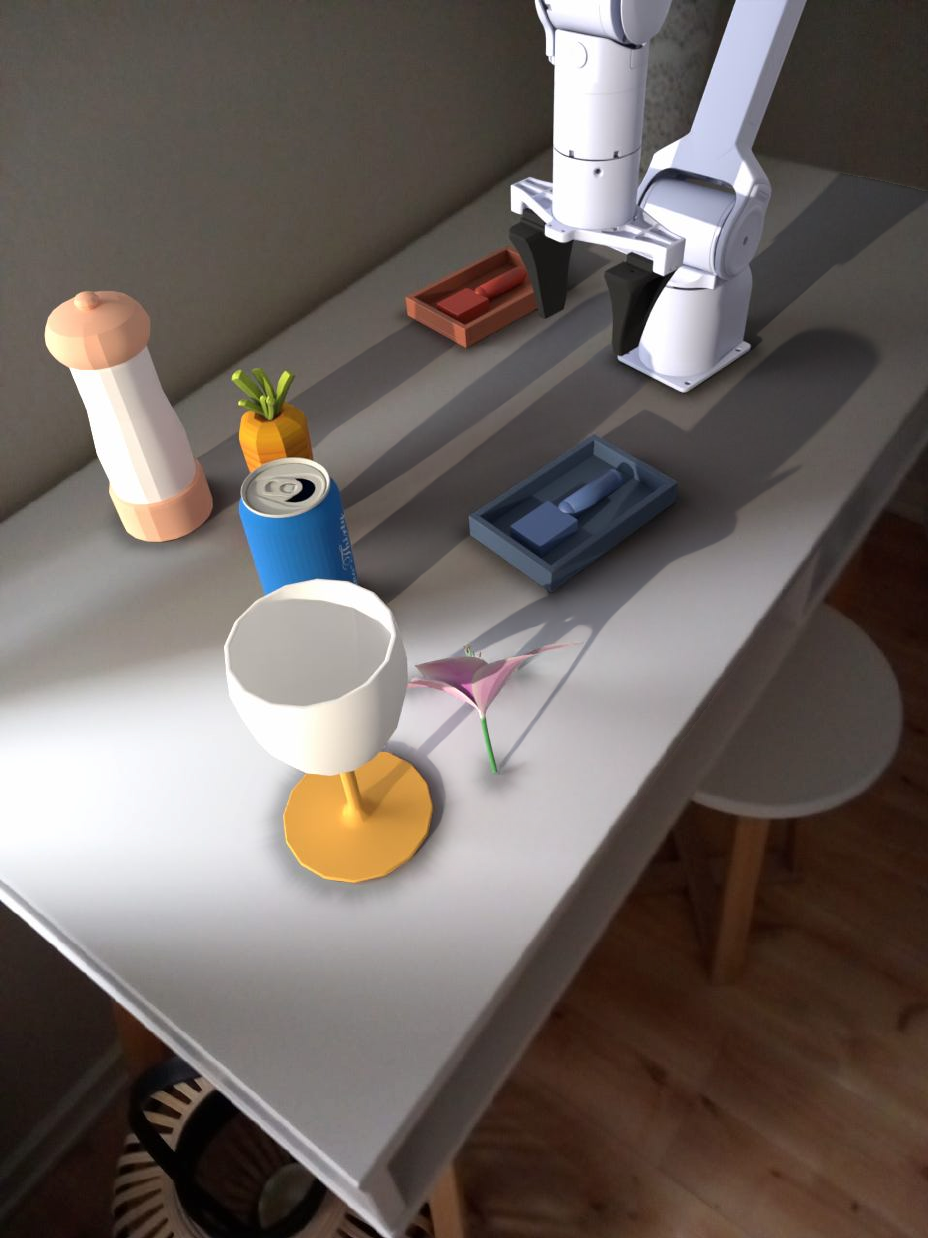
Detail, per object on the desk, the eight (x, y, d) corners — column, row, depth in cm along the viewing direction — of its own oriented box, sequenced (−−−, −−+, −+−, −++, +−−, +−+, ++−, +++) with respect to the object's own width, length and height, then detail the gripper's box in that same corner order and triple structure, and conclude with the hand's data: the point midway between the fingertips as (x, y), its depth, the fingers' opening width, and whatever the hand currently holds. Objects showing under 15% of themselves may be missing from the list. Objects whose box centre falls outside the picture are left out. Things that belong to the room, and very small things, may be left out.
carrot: (341, 518, 76) (307, 352, 65) (315, 561, 73) (274, 394, 62) (285, 507, 78) (241, 343, 67) (257, 549, 75) (206, 384, 64)
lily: (608, 711, 64) (578, 575, 61) (562, 812, 54) (524, 655, 50) (443, 720, 69) (408, 595, 65) (373, 815, 58) (327, 672, 55)
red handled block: (513, 274, 99) (513, 259, 98) (535, 284, 98) (535, 269, 96) (437, 314, 95) (436, 299, 94) (459, 326, 93) (457, 311, 92)
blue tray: (593, 453, 80) (593, 433, 78) (675, 501, 75) (678, 481, 74) (469, 535, 74) (468, 515, 73) (551, 593, 70) (551, 573, 68)
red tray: (507, 263, 102) (507, 244, 100) (567, 291, 97) (568, 273, 96) (407, 315, 96) (405, 296, 95) (466, 348, 92) (464, 329, 90)
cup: (256, 856, 57) (179, 687, 45) (324, 735, 63) (272, 557, 51) (397, 904, 54) (355, 738, 43) (455, 773, 60) (433, 595, 48)
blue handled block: (603, 473, 77) (604, 457, 76) (634, 491, 76) (635, 475, 74) (510, 537, 73) (509, 521, 72) (540, 558, 71) (540, 542, 70)
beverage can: (349, 653, 67) (319, 524, 58) (261, 643, 68) (218, 515, 59) (374, 586, 71) (348, 456, 62) (290, 577, 72) (254, 449, 64)
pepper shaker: (231, 499, 79) (162, 280, 65) (169, 554, 75) (80, 334, 61) (167, 471, 82) (87, 257, 68) (103, 523, 78) (4, 307, 64)
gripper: (477, 133, 66) (483, 316, 75) (641, 195, 58) (624, 390, 68) (550, 103, 69) (548, 283, 78) (716, 158, 61) (690, 350, 71)
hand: (588, 330), depth 73 cm, fingers open, 7 cm apart
